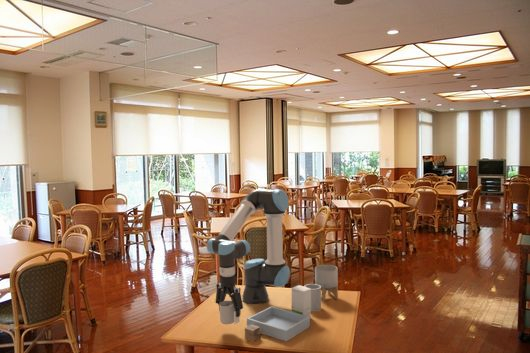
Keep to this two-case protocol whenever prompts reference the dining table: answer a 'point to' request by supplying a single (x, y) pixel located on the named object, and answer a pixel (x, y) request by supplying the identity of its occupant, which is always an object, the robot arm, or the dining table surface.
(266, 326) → the tote
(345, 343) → the dining table surface
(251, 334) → the walnut cube
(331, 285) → the planter
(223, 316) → the cup
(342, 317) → the dining table surface
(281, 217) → the robot arm
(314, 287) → the cup
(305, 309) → the skincare box
